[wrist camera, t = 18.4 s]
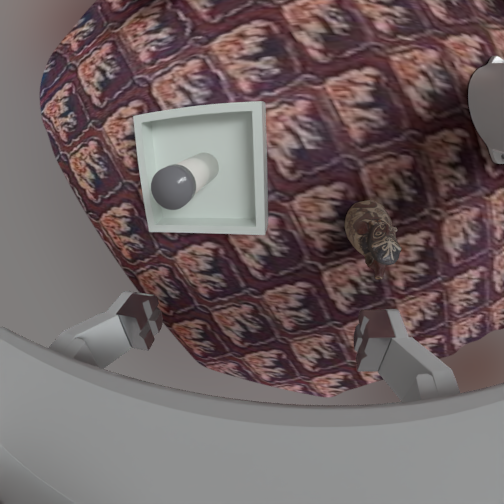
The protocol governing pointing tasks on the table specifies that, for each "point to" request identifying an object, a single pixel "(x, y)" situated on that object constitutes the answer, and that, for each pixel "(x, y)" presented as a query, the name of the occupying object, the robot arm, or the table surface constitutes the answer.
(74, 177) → the table surface
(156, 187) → the shaker
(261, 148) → the tray
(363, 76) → the table surface
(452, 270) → the table surface
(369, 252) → the figurine
